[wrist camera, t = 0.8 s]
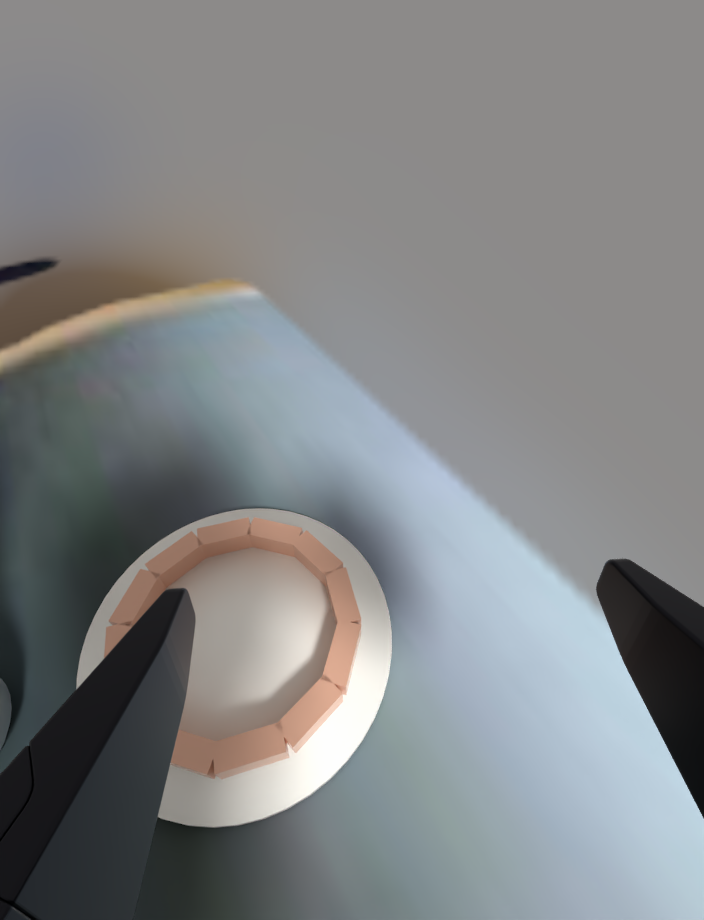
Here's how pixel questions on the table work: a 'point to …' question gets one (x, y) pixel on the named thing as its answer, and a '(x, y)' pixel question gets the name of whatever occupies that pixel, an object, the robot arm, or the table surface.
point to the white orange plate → (260, 659)
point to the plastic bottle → (4, 711)
